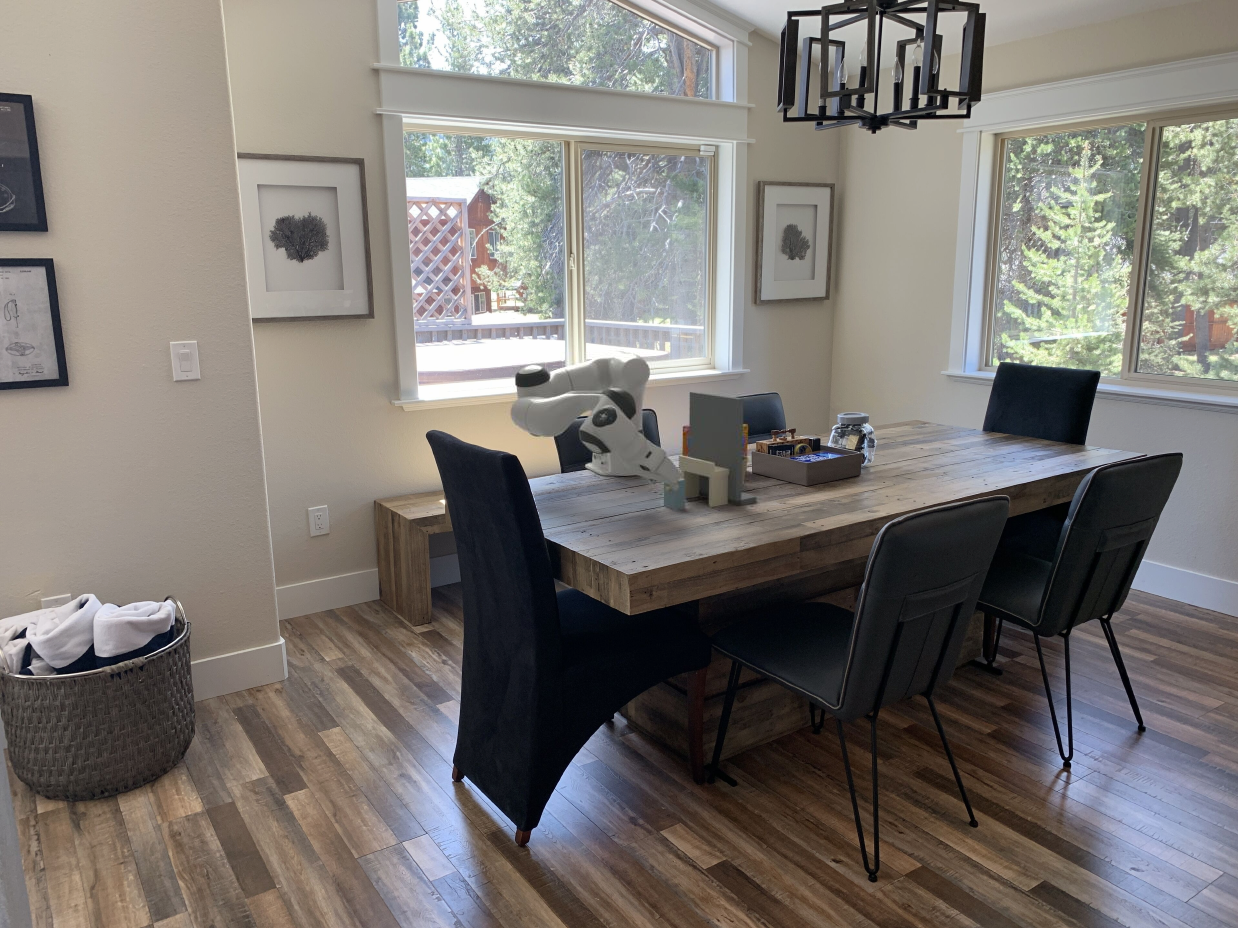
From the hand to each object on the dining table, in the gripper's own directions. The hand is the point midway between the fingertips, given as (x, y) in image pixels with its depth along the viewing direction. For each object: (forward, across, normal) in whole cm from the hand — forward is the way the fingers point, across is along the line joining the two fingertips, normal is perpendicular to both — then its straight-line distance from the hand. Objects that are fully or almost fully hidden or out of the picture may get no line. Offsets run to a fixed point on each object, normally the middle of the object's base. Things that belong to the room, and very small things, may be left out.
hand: (665, 485), depth 248 cm
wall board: (+18, 0, +9) cm, 20 cm away
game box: (+36, -27, +26) cm, 52 cm away
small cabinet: (+8, 0, -2) cm, 8 cm away
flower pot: (+29, -9, +20) cm, 37 cm away
